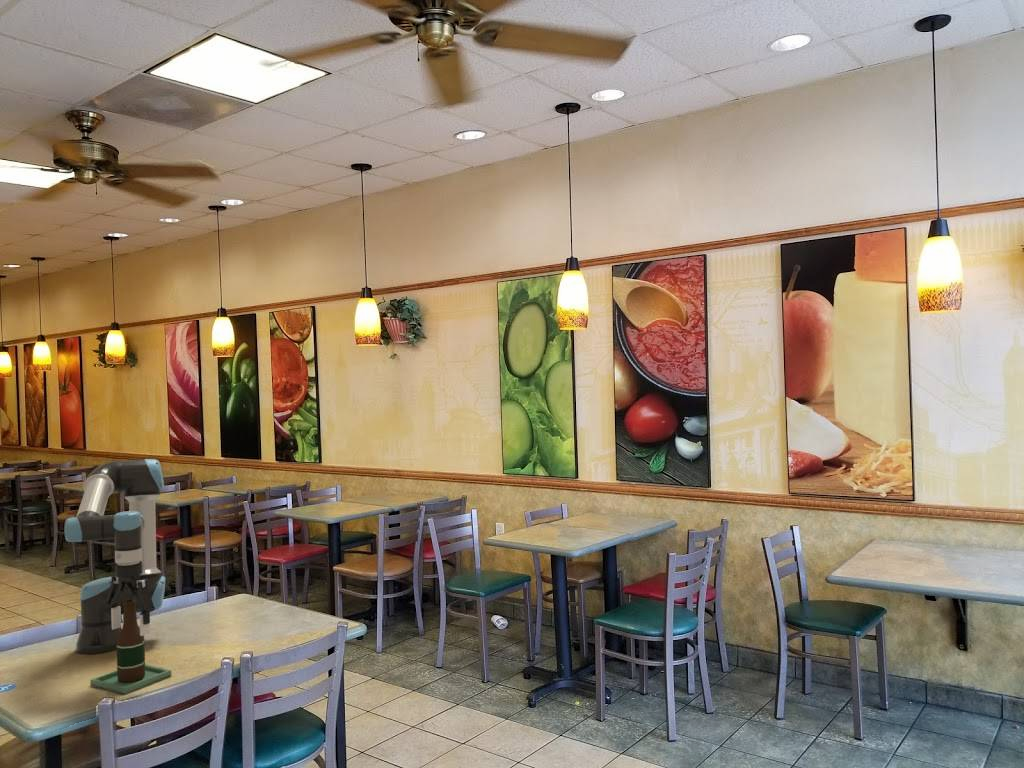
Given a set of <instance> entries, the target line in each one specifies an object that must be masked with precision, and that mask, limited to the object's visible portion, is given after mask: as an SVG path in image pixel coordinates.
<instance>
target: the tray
mask: <svg viewBox="0 0 1024 768" xmlns="http://www.w3.org/2000/svg"><path fill="white" fill-rule="evenodd" d="M171 677H172V670H171V669H167V668H164V667H163V668H162V667H158V666H155V665H150V664H146V663H145V676H144V677H143V679H142V680H139V681H136V682H131V683H121V682H119V681H118V676H117V669H116V670H113V671H111V672H109V673H106V674H102V675H100V676H98V677H94V678H92V679H90V687H93V688H94V687H95V688H97V689H102V690H105V691H110V692H112V693H117V694H119V695H127V694H129V693H133V692H135V691H137V690H140V689H142V688H145V687H147V686H150V685H152V684H155V683H157V682H160V681H162V680H165V679H168V678H171Z"/></svg>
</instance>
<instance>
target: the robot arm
mask: <svg viewBox="0 0 1024 768" xmlns="http://www.w3.org/2000/svg"><path fill="white" fill-rule="evenodd" d="M82 489H83V495H82V499H81V502H80V505H79V508H78V511H77V513H76V516H74V517H69V518H67V519H66V520H65V521H64V538H65V540H66V542H68V543H82V542H91V541H92V542H93V541H101V540H103V541H104V540H113V539H114V562H115V565H114V572H115V573H114V576H108V577H102V578H99V579H95V580H91V581H90V582H86V583H85V584H84V585H83V586H82V587H81V589H80V599H79V601H80V615H81V616H80V618H81V619H80V621H81V627H80V631H79V635H78V637H77V641H76V644H75V648H76V649H75V650H76V653H79V654H82V655H84V654H85V655H93V654H95V655H96V654H101V653H106V652H110V651H114V650H117V638H118V635H119V633H120V631H121V630H122V628H123V627H122V615H123V616H124V606H123V603H124V601H126V600H132V599H133V600H135V602H136V604H135V605H136V614H137V613H139V614H138V615H139V627H140V636H143V635H144V636H146V635H149V634H151V633H150V632H151V631H150V630H151V629H150V623H151V615H150V614H151V613H152V612H155V611H158V610H160V609H161V608H162V606H163V603H164V602H163V601H164V596H165V588H166V577H165V576H164V575H162V571H161V570H160V569H158V567H157V533H156V532H157V528H156V522H157V521H156V515H157V514H156V501H157V499H159V497H160V496H161V494H160V493H161V491H164V490H165V483H164V477H163V471H162V465H161V463H160V461H159V460H158V459H155V458H144V459H143V458H142V459H128V460H127V459H126V460H113V461H108V462H106V463H102V464H101V465H99V466H97V467H96V468H94V469H93V470H92V471H91V472H90V473H89V474H88V476H86V478H85V480H84V482H83V487H82ZM112 494H123V495H124V499H125V500H127V501H128V503H129V504H128V505H129V506H128V509H129V510H128V511H126V510H125V511H121V512H117V513H115V514H107V515H105V511H106V507H107V503H108V499H109V497H110V496H111V495H112Z"/></svg>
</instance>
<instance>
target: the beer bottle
mask: <svg viewBox="0 0 1024 768" xmlns="http://www.w3.org/2000/svg"><path fill="white" fill-rule="evenodd" d="M135 604H136V602H135V600H133V599H132V600H126V601H124V603H123V606H124V614H123V620H122V621H123V623H122V627H121V628H122V630H121V631H120V633H119V635H118V638H117V649H116V670H117V676H118V681H119V682H121V683H131V682H136V681H139V680H142V679H143V677H144V676H145V664H146V650H145V649H146V648H145V647H146V646H145V645H146V642H145V635H143V636H140V625H139V624H138V616H137V613H136V605H135Z"/></svg>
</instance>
